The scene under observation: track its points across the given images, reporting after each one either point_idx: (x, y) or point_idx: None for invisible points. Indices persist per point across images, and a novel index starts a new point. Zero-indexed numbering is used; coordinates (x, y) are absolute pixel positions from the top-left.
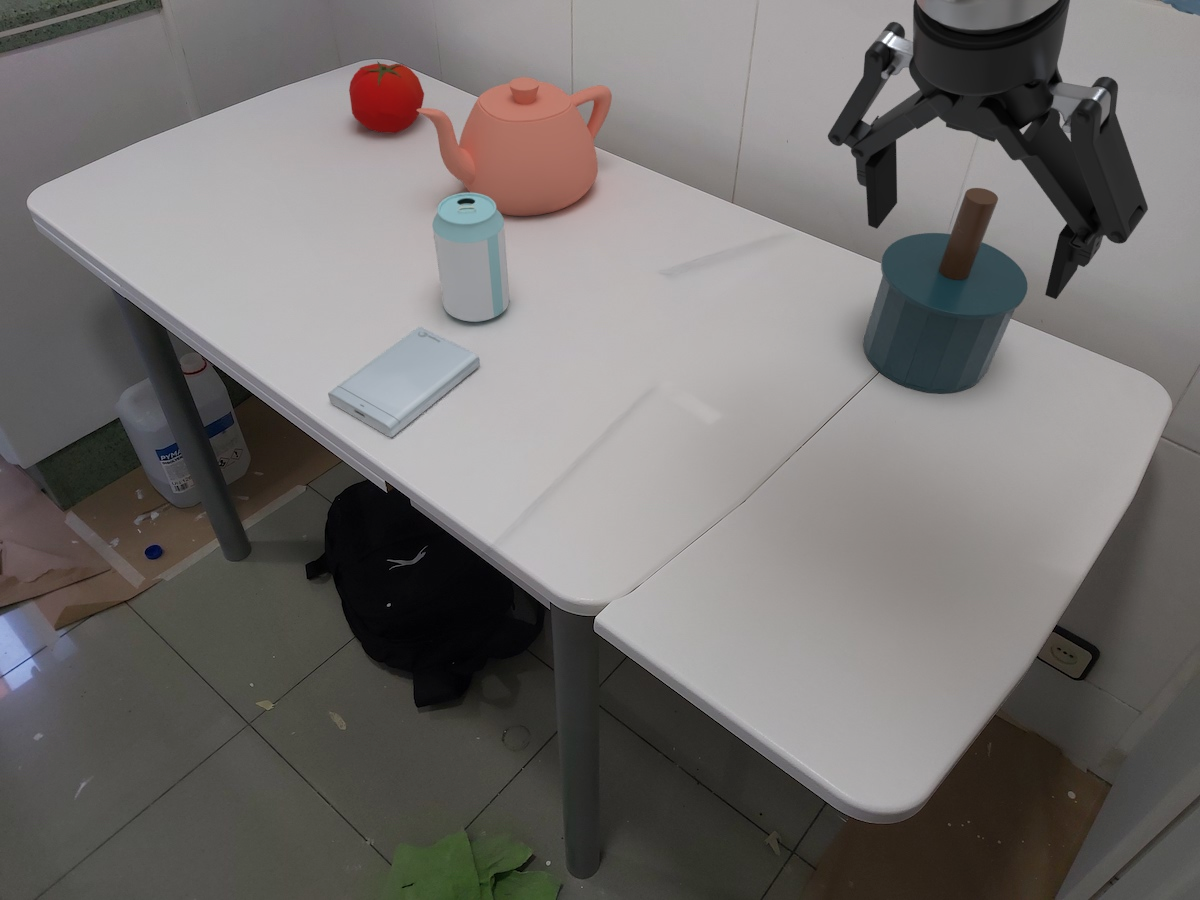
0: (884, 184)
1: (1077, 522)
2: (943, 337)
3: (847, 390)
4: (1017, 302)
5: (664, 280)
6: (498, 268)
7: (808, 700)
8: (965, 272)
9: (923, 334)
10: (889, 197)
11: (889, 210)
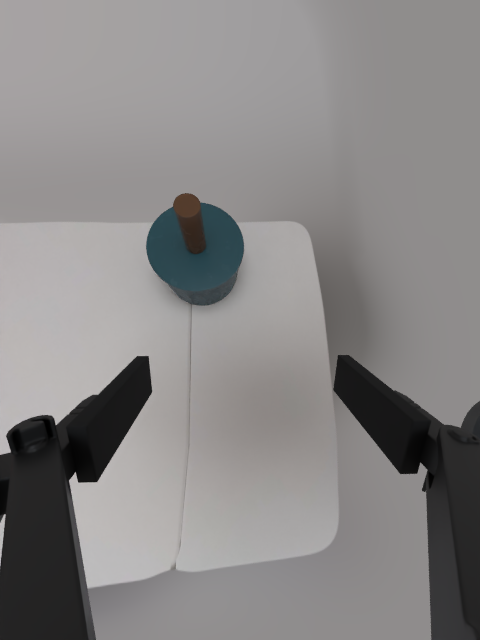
0: (125, 412)
1: (315, 333)
2: (216, 290)
3: (185, 329)
4: (242, 248)
5: (35, 319)
6: None
7: (282, 525)
8: (204, 246)
9: (205, 294)
10: (140, 382)
11: (148, 372)
